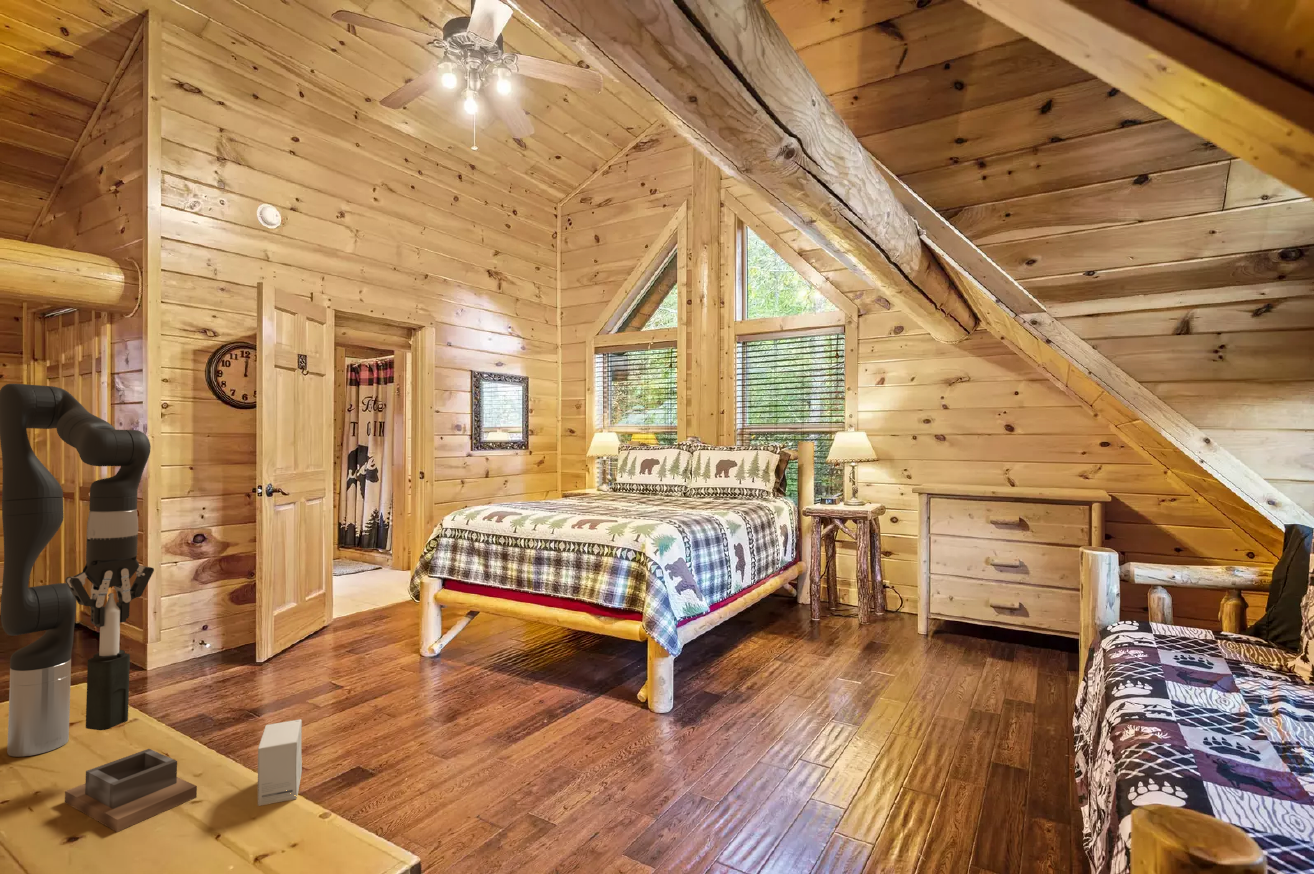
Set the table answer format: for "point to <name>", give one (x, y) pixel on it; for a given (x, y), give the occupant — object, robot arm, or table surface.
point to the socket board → (131, 790)
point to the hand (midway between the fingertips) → (109, 623)
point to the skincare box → (279, 762)
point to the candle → (108, 676)
